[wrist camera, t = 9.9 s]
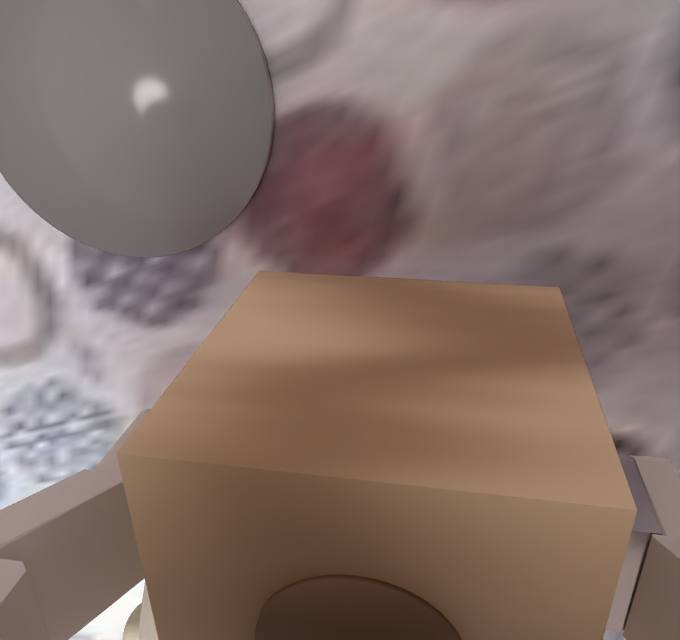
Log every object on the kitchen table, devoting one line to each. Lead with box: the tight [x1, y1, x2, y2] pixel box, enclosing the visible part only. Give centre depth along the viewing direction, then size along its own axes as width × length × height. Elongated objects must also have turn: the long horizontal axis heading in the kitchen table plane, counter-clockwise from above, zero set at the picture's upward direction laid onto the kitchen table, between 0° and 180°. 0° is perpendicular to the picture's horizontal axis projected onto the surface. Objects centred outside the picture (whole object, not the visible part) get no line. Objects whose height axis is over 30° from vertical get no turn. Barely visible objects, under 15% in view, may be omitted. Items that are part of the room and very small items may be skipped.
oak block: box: [116, 271, 637, 640], centre depth 9 cm, size 5×5×5 cm
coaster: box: [0, 0, 274, 258], centre depth 21 cm, size 11×11×1 cm
